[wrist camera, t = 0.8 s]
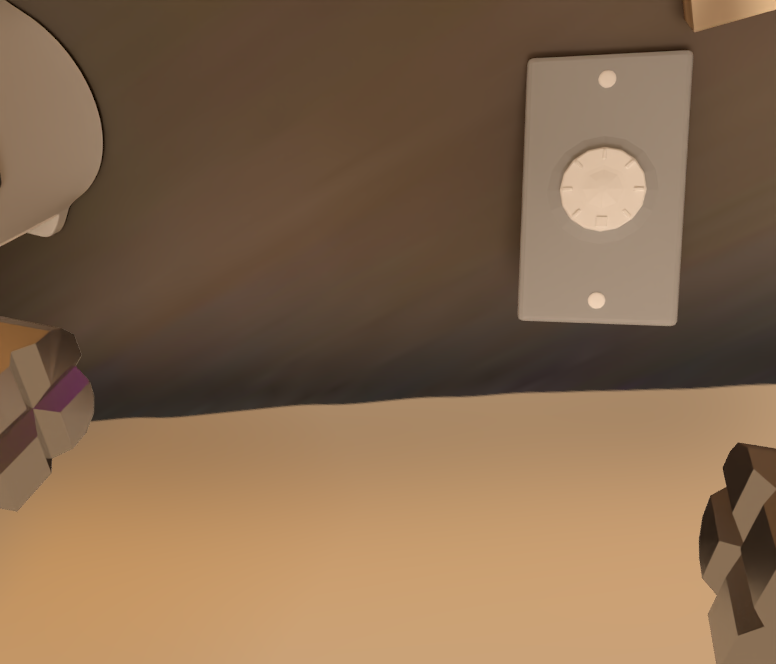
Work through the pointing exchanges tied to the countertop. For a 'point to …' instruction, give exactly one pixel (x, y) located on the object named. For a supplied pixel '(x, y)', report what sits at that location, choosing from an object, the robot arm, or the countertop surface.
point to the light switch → (604, 187)
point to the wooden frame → (722, 11)
